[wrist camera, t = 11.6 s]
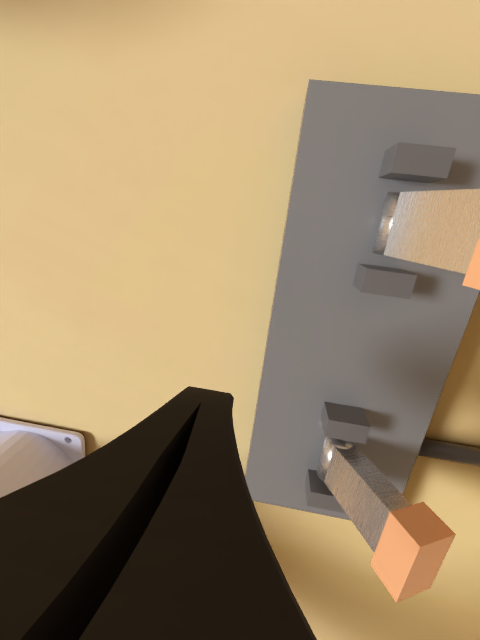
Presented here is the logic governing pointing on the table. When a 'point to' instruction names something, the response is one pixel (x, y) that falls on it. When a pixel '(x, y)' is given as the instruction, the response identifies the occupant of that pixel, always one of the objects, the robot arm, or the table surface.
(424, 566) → the lever
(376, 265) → the breaker block
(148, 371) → the table surface
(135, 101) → the table surface
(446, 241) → the lever
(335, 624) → the table surface
